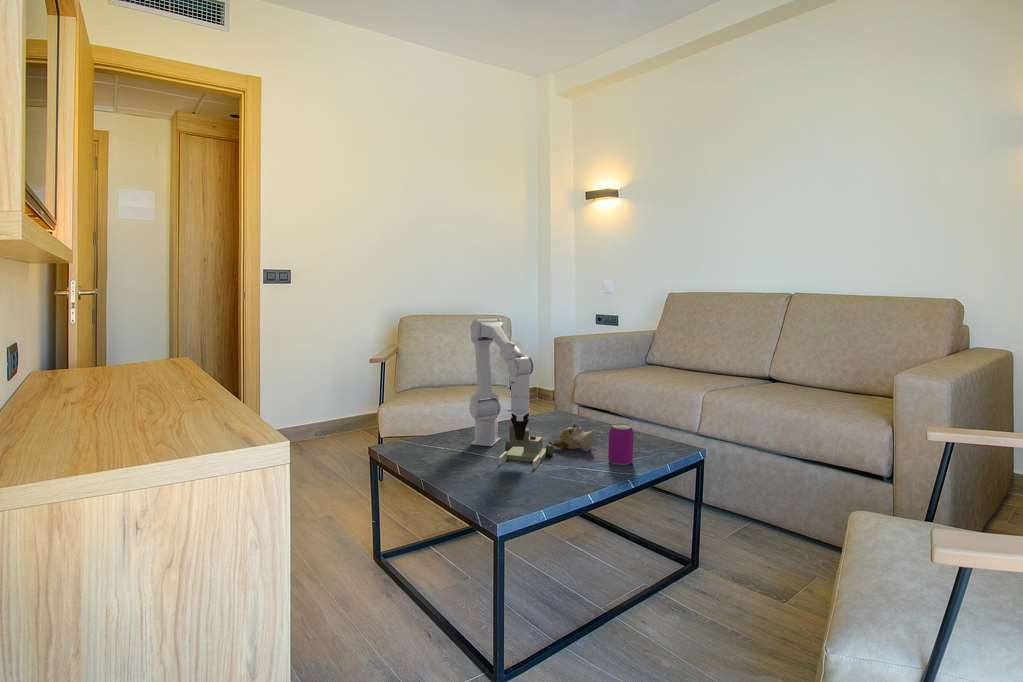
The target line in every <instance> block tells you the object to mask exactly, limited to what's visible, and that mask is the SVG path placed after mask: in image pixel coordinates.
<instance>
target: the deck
mask: <svg viewBox="0 0 1023 682" xmlns="http://www.w3.org/2000/svg"><path fill="white" fill-rule="evenodd" d="M504 448H505V451H504V452H502V454H500V456H499V457H498V465H499V466H503V464H504V463H505V462H506V461H507V460H513V461H521V462H530V463H532V470H536V469H537V467H538V466H539V465H540V464H541V463H542V462H543V461H544V460H545V458H546V457H547V456H548V457H549V456H551V457H553V455H554V451H555V449H554V448H555V446H553V445H551V444H549V443H547V445H546V447H545V448H543V437H542V436H537V435H535V434H534V435H533V434H531V435H529V447H510V439H509V440H506V442H505V445H504Z"/></svg>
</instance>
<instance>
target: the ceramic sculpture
mask: <svg viewBox="0 0 1023 682" xmlns="http://www.w3.org/2000/svg"><path fill="white" fill-rule="evenodd" d="M559 438H560V439H556V440H554V441H548V443H547V444H549V445H553V446H554V448H555V447H556V448H557V449H563V448H565V449H568V450H576V449H581V450H582V452H589V451H590V450H591V449H592V446H593V443H594V441H595V431H594V430H592V431H584V430H583V429H582V427H581V426H579V425H577V424H573V426H572V427H570V426H569V427H567V428H565V429H564V430H562V432H561V434H560V435H559Z"/></svg>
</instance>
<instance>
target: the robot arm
mask: <svg viewBox="0 0 1023 682" xmlns="http://www.w3.org/2000/svg"><path fill="white" fill-rule="evenodd" d="M470 340H471V343H472V344H474V351H475V352H474V353H475V366H476V367H475V368H476V385H477V389H476V391H475V392H474V393H473V394H472V395H471V396H470V399H469V401H470V402H469V413H470V415H471V417H472V418H473V419H474V440H473V441H471V442H470V445H474V446H482V447H483V446H485V447H493V446H494V445H496V444H497V442H499V441H500V440H501V437H499V420H498V416H499V415H500V413H501V409H502V407H501V402H500V397H499V395H498V394H497V393H496V392H495V391H494V390H493V388H492V387H493V386H492V369H491V368H492V367H491V355H490V354H491V353H490V350H491V349H490V346H491V344H492V343H493V342H495V343H496V345H497V346H498V347H499V353H500V355H501V357H502V358H503V360H504V362H506V364H507V371H508V375H509V377H508V379H509V381H510V407H507V409H506V410H507V411H506V412H509V413H510V415H511V416H510V421H511V422H510V423H512V424H513V426H514V430H515V436H516V440H523V439H524V434H525V429H526V428H527V426H528V423H529V421H530V418H529V416H530V412H531V409H530V384H531V383H530V380H531V379H530V377H531V375H532V374H533V372H534V362H533V361H534V360H533V359H532V357H531V356H529V355H526V354H523V352H522V351H521V350H520V349H519V347H518V346H517V344H516V343H515V342H513V341H510V340H509V338H508V336H506V334H505V332H504V323H503V321H502V319H501V318H499V317H497V318H496V317H495V318H482V319H478V318H474V319H473V320H472V322H471V324H470Z"/></svg>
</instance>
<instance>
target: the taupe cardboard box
mask: <svg viewBox="0 0 1023 682" xmlns="http://www.w3.org/2000/svg"><path fill="white" fill-rule="evenodd" d="M529 436H530V427H526V429H525V434H524V439H523V440H516V436H515V430H514V426H513V424H512V422H509V440H510V447H529Z"/></svg>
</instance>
